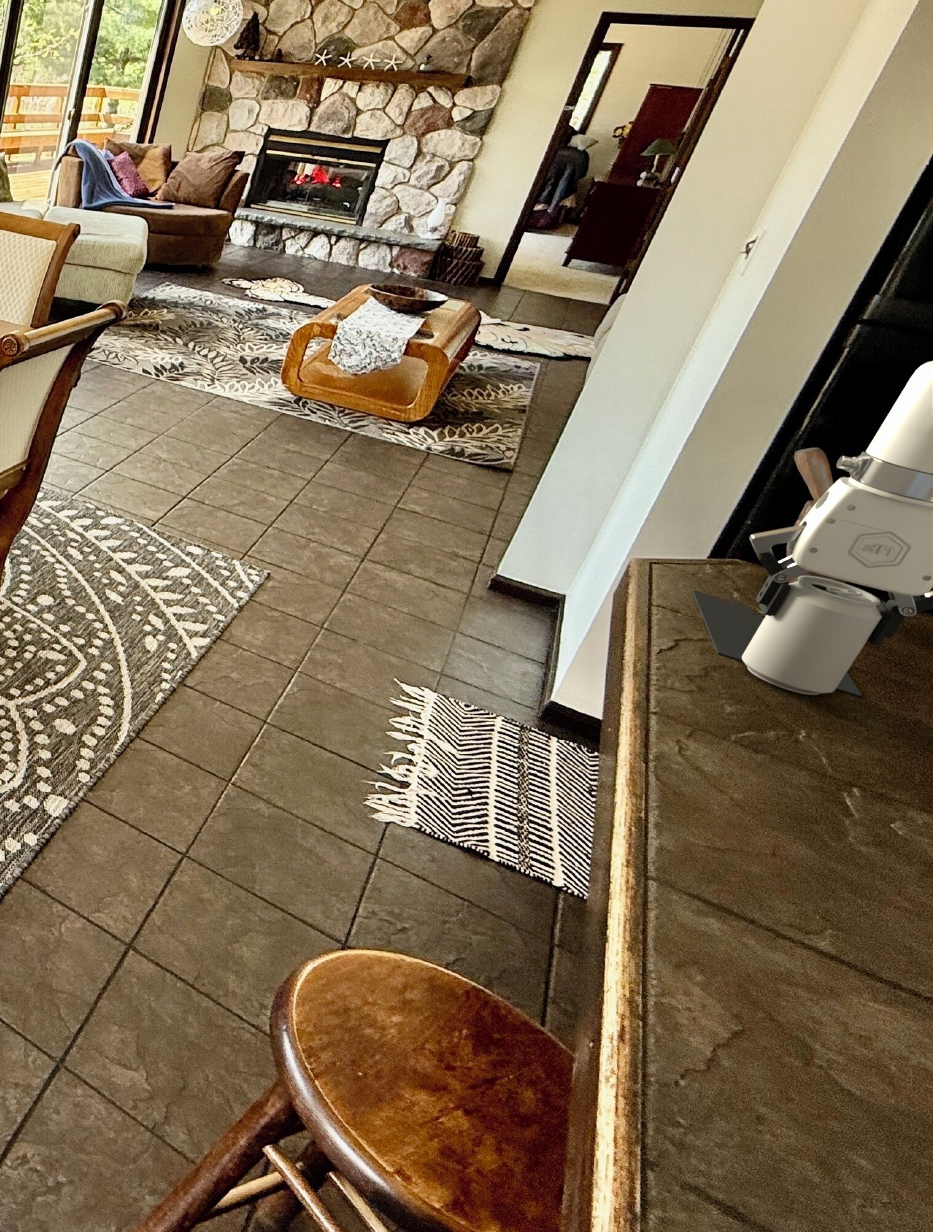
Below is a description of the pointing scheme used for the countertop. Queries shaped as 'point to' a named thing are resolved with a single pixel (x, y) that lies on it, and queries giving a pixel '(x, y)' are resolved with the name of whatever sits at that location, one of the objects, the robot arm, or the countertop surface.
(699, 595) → the mat
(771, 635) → the can
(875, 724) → the countertop surface
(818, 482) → the mortar and pestle
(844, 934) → the countertop surface
